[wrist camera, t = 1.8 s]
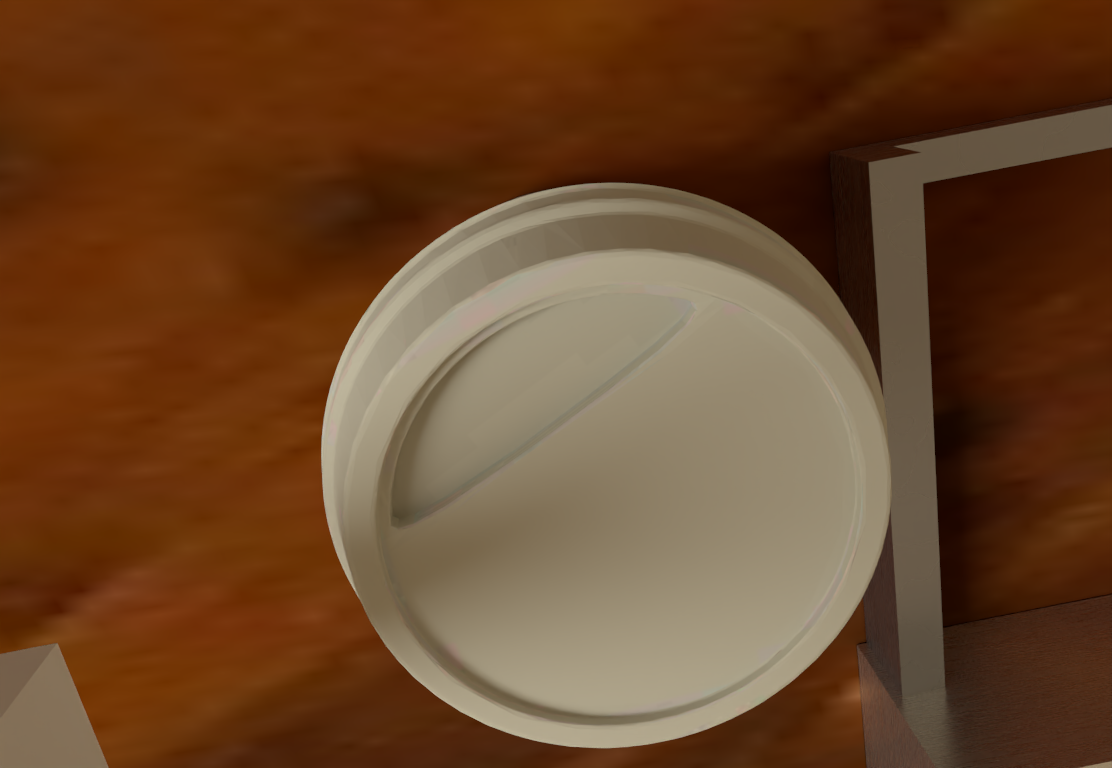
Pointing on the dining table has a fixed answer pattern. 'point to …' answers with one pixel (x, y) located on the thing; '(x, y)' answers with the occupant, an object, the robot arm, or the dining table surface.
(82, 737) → the robot arm
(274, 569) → the dining table surface
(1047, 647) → the button box with rail
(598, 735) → the coffee cup
